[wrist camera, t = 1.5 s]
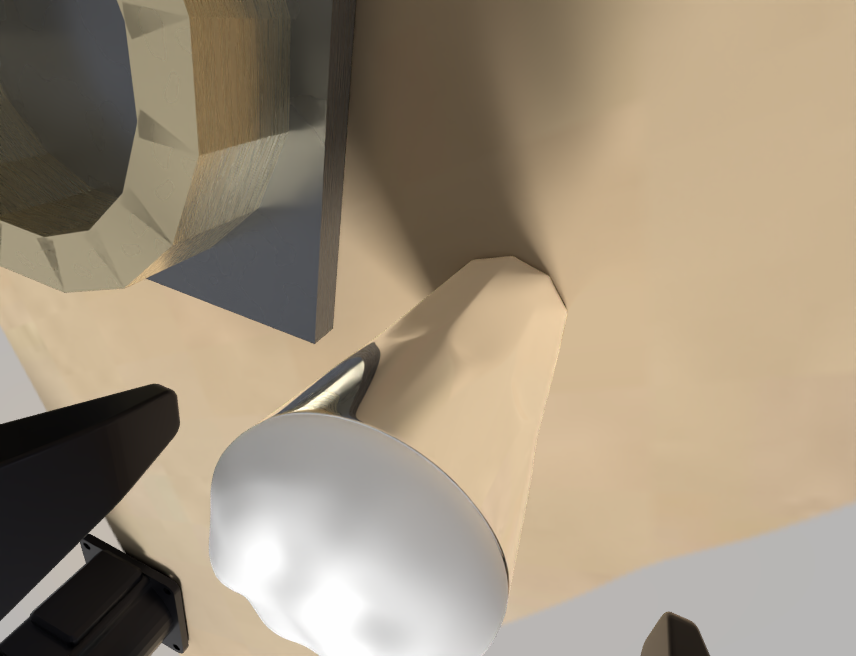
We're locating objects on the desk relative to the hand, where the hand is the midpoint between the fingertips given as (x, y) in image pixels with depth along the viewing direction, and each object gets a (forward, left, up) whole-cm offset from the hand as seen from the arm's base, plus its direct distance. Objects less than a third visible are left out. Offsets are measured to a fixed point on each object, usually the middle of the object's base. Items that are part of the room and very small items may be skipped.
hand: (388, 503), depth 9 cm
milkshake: (0, 0, -7) cm, 7 cm away
